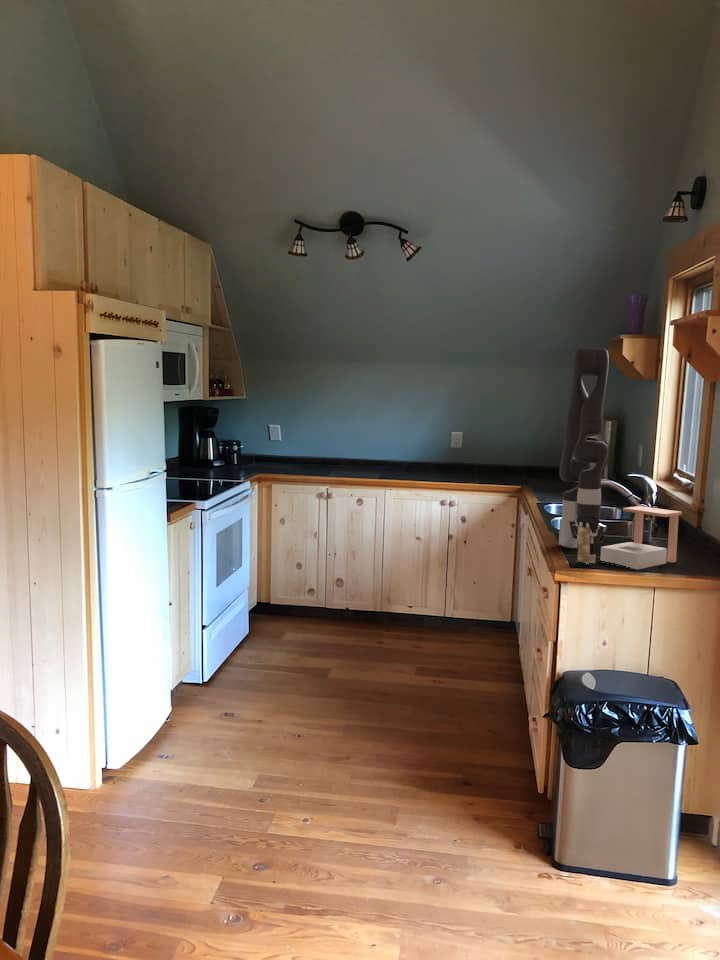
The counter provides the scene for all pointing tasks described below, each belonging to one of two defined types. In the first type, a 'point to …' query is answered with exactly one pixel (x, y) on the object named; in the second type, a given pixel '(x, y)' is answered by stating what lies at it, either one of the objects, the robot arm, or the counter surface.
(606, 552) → the socket block
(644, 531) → the supplement bottle
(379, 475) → the counter surface
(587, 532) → the peg
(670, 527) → the wooden arch frame
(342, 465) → the counter surface
